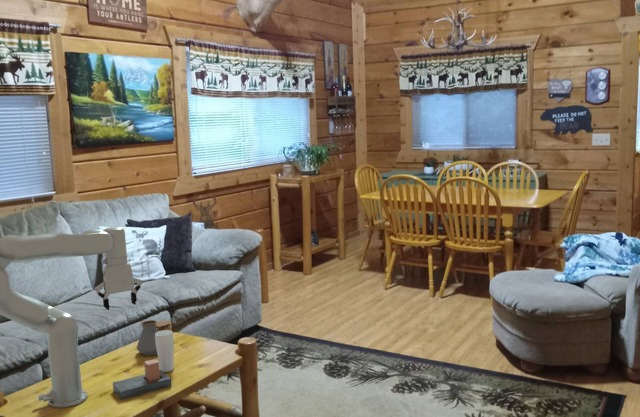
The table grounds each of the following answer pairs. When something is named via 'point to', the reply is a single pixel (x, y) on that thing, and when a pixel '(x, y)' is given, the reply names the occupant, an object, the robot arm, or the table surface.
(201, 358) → the table surface
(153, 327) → the coffee pot
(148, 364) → the square peg
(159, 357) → the drinking glass
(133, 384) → the square hole plate
